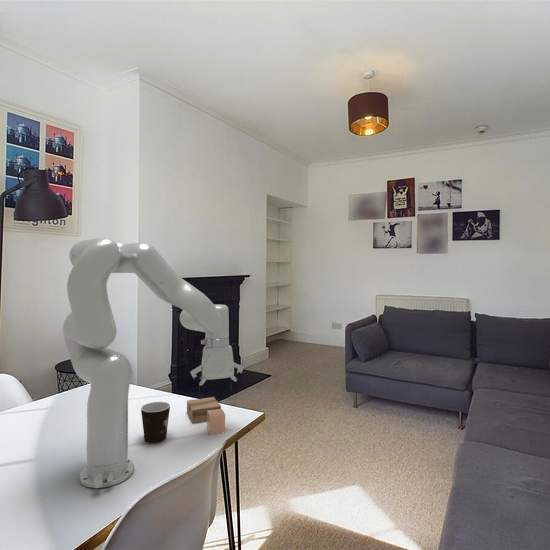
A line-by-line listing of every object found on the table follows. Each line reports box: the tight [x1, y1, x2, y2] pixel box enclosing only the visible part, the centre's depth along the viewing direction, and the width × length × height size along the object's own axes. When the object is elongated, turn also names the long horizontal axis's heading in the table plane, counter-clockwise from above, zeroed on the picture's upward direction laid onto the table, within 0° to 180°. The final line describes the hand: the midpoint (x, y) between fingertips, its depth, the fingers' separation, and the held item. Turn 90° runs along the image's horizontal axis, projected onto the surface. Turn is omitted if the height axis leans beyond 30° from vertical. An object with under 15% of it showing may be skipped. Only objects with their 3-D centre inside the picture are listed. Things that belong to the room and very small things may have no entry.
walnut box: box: [186, 396, 222, 425], centre depth 132 cm, size 10×10×5 cm
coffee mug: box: [140, 401, 171, 445], centre depth 113 cm, size 12×9×10 cm
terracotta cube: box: [206, 408, 226, 436], centre depth 120 cm, size 5×5×6 cm
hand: (217, 394), depth 121 cm, fingers open, 9 cm apart
